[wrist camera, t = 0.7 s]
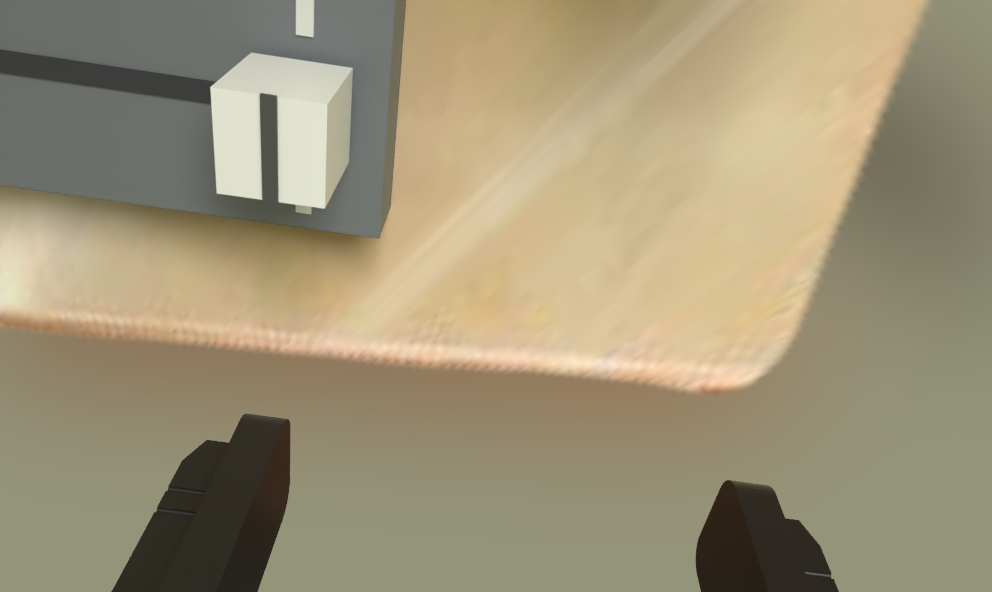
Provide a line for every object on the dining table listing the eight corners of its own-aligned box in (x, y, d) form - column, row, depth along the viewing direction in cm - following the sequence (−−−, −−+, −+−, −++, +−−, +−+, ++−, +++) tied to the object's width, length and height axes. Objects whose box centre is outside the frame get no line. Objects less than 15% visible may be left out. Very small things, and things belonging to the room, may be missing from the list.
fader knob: (251, 51, 26) (209, 86, 22) (352, 66, 26) (326, 103, 23) (254, 149, 28) (215, 195, 24) (349, 163, 28) (324, 211, 25)
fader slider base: (-161, -133, 26) (-236, -128, 24) (409, -43, 27) (396, -28, 25) (-85, 138, 32) (-140, 166, 29) (390, 206, 33) (378, 239, 30)
